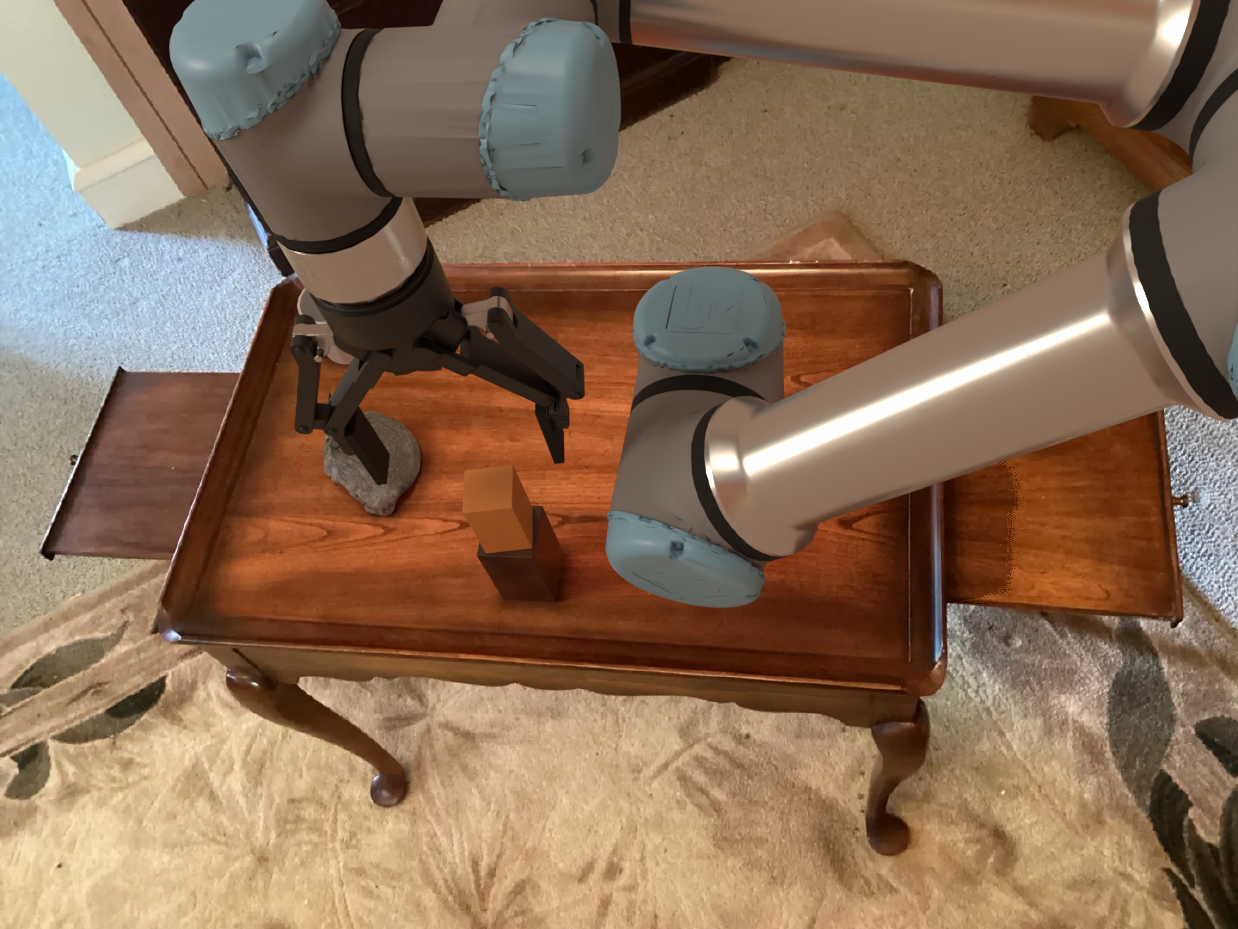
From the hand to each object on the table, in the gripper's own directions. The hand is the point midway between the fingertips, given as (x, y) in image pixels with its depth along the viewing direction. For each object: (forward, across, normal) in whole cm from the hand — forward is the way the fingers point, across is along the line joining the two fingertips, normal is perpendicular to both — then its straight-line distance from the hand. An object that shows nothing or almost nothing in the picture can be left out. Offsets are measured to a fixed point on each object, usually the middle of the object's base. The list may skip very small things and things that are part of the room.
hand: (470, 459), depth 72 cm
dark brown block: (+20, 0, 0) cm, 20 cm away
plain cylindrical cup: (+20, +21, -32) cm, 43 cm away
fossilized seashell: (+20, +17, -14) cm, 30 cm away
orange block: (+11, 0, 0) cm, 11 cm away
